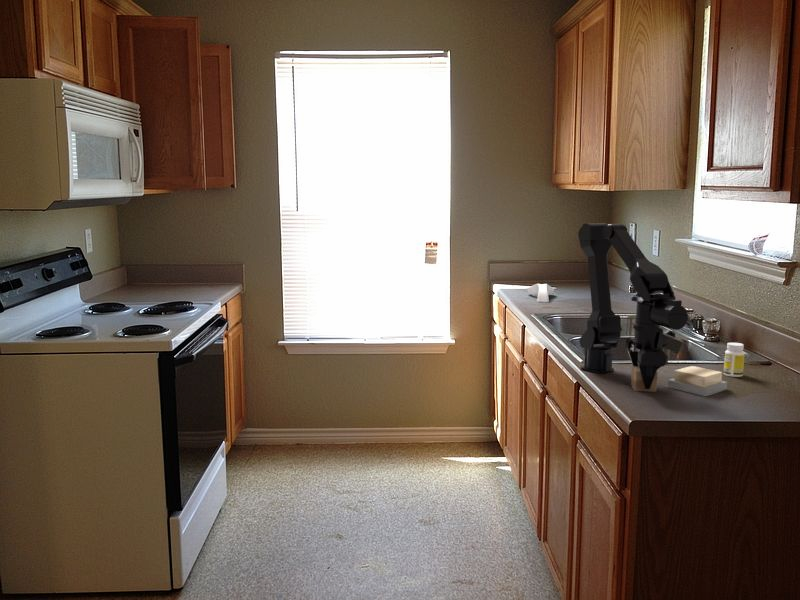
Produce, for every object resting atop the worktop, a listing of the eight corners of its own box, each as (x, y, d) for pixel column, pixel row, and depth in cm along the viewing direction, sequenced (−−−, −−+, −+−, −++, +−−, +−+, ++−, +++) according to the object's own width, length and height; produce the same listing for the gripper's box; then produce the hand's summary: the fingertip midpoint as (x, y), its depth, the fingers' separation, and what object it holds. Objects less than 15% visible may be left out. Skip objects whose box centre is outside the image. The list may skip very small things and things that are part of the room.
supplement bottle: (744, 374, 203) (747, 343, 202) (741, 378, 199) (743, 346, 198) (725, 371, 206) (727, 341, 204) (721, 375, 202) (724, 344, 200)
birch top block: (673, 380, 189) (674, 370, 189) (691, 375, 194) (692, 365, 194) (704, 387, 183) (704, 377, 182) (721, 382, 188) (722, 372, 187)
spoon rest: (525, 294, 340) (526, 278, 339) (552, 294, 339) (553, 278, 338) (529, 302, 317) (529, 285, 315) (558, 303, 315) (558, 286, 314)
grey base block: (667, 389, 190) (668, 379, 189) (688, 383, 196) (689, 373, 196) (705, 398, 182) (706, 388, 182) (726, 391, 188) (727, 381, 188)
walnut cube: (635, 391, 186) (636, 371, 185) (630, 385, 191) (632, 366, 190) (656, 392, 185) (657, 372, 185) (651, 386, 190) (652, 366, 189)
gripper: (693, 330, 175) (687, 396, 178) (672, 316, 194) (667, 375, 196) (643, 329, 176) (638, 394, 179) (627, 314, 195) (623, 374, 197)
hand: (643, 384), depth 188 cm, fingers open, 8 cm apart
